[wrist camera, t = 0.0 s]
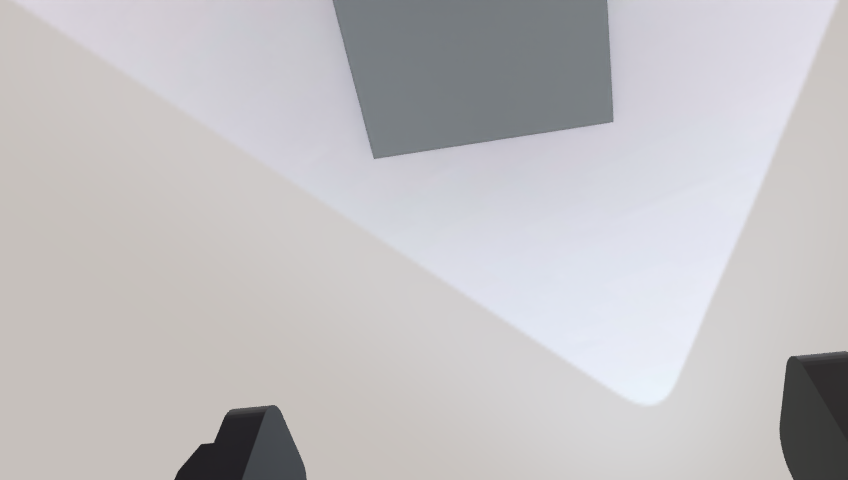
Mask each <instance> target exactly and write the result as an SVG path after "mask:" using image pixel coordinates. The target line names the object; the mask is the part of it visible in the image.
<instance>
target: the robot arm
mask: <svg viewBox="0 0 848 480" xmlns="http://www.w3.org/2000/svg"><path fill="white" fill-rule="evenodd" d="M780 440H781V446H782V450H783V454H784V458H785V461H786V464H787V466H788V468H789V471H790V473H791V475H792V477H793V479H794V480H848V352H846V351H842V352H832V353H823V354H813V355H812V354H811V355H802V356H791V357H790V358H789V359H788V361H787V365H786V373H785V383H784V391H783V401H782V410H781V418H780ZM174 480H307V479H306V472H305V467H304V464H303V462H302V459H301V457H300V454H299V452H298V450H297V447H296V445H295V443H294V441H293V438H292V436H291V434H290V431H289V429H288V427H287V425H286V422H285V420H284V418H283V415H282V413H281V411H280V410H279V408H278V407H277V406H275V405H271V406H261V407H251V408H240V409H232V410H230V411H229V412H228V413H227V414H226V415H225V417H224V420H223V422H222V425H221V427H220V430H219V432H218V434H217V437H216V439H215V441H214V443H210V444H201V445H200V446H199V448H198V449H197V450H196V451H195V452H194V453H193V454H192V456H191V457H190V458H189V459H188V460H187V462H186V463H185V464H184V465H183V466H182V467H181V468H180V470H179V471H178V473H177V475H176V477H175V479H174Z"/></svg>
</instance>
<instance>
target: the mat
mask: <svg viewBox="0 0 848 480" xmlns="http://www.w3.org/2000/svg"><path fill="white" fill-rule="evenodd" d="M333 3H334V7H335V11H336V15H337V19H338V23H339V27H340V30H341V34H342V38H343V42H344V46H345V50H346V53H347V57H348V61H349V65H350V69H351V73H352V76H353V80H354V84H355V88H356V92H357V96H358V100H359V103H360V107H361V111H362V115H363V119H364V123H365V126H366V130H367V134H368V138H369V142H370V146H371V149H372V153H373V157H374V159H377V158H383V157H390V156H396V155H403V154H409V153H416V152H422V151H429V150H435V149H441V148H448V147H454V146H461V145H467V144H474V143H480V142H487V141H493V140H500V139H506V138H513V137H519V136H526V135H532V134H539V133H545V132H552V131H558V130H565V129H571V128H578V127H584V126H591V125H597V124H604V123H610V122H613V105H612V86H611V67H610V48H609V29H608V10H607V0H333Z"/></svg>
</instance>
